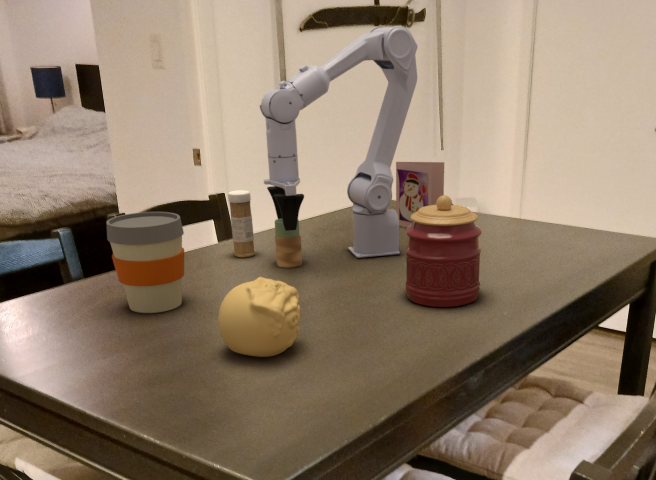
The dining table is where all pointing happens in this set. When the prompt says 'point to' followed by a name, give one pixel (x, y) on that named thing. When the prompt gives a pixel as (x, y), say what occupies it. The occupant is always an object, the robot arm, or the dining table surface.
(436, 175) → the greeting card
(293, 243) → the pile middle chip
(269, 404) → the dining table surface
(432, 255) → the kitchen canister
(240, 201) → the sprinkles bottle
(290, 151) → the robot arm
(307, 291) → the dining table surface
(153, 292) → the reusable coffee cup
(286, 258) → the pile bottom chip
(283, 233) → the green short cylinder
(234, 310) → the sculpture
